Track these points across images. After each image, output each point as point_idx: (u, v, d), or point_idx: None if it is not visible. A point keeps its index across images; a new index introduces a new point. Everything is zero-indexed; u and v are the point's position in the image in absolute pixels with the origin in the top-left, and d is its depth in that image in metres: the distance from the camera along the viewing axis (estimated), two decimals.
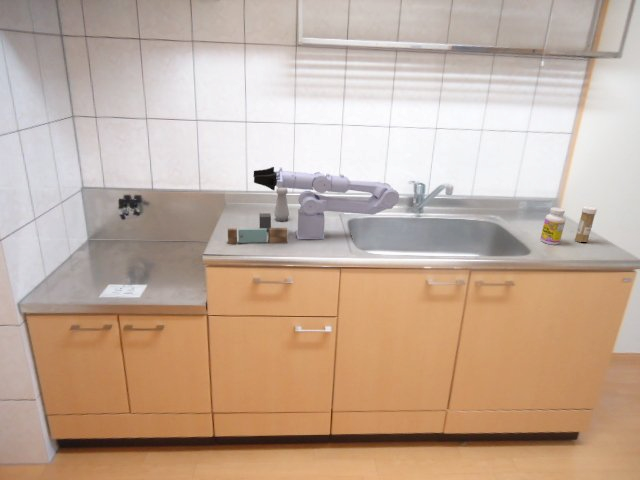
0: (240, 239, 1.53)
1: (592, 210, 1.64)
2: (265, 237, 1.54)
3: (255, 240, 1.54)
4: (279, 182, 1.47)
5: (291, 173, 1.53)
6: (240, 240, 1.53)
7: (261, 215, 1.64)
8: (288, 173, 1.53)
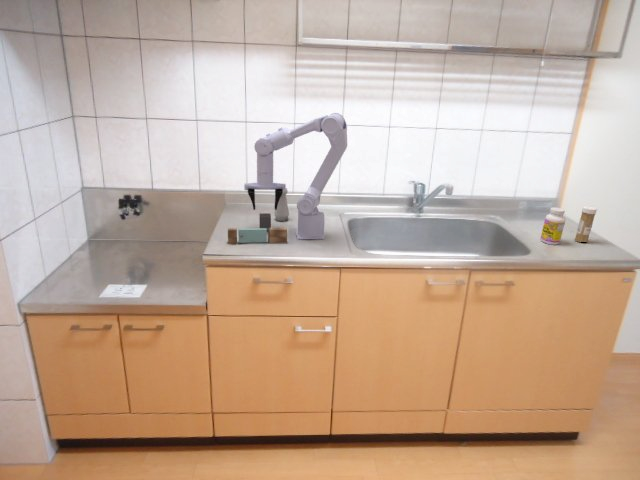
0: (240, 239, 1.53)
1: (592, 210, 1.64)
2: (265, 237, 1.54)
3: (255, 240, 1.54)
4: None
5: None
6: (240, 240, 1.53)
7: (261, 215, 1.64)
8: None
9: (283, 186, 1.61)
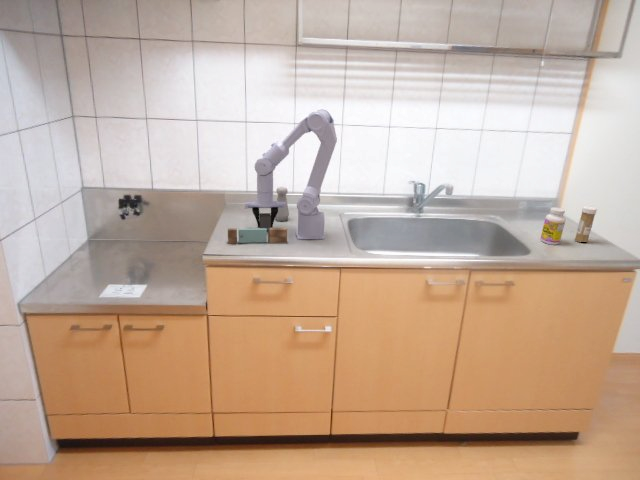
0: (240, 239, 1.53)
1: (592, 210, 1.64)
2: (265, 237, 1.54)
3: (255, 240, 1.54)
4: None
5: None
6: (240, 240, 1.53)
7: (261, 215, 1.64)
8: None
9: (283, 204, 1.63)
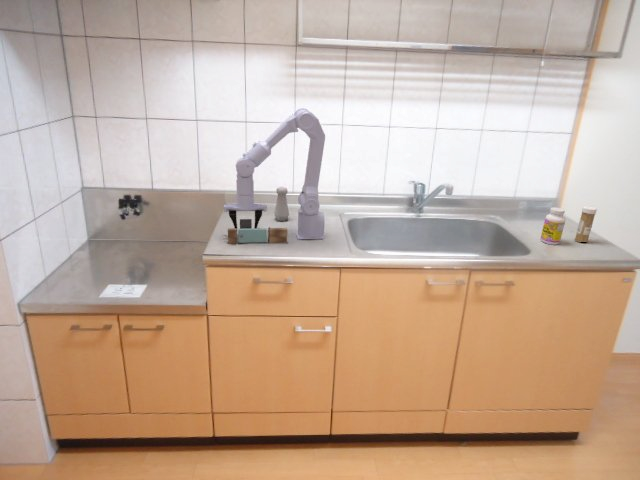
0: (240, 239, 1.53)
1: (592, 210, 1.64)
2: (265, 237, 1.54)
3: (255, 240, 1.54)
4: None
5: None
6: (240, 240, 1.53)
7: (241, 221, 1.57)
8: None
9: (264, 207, 1.56)
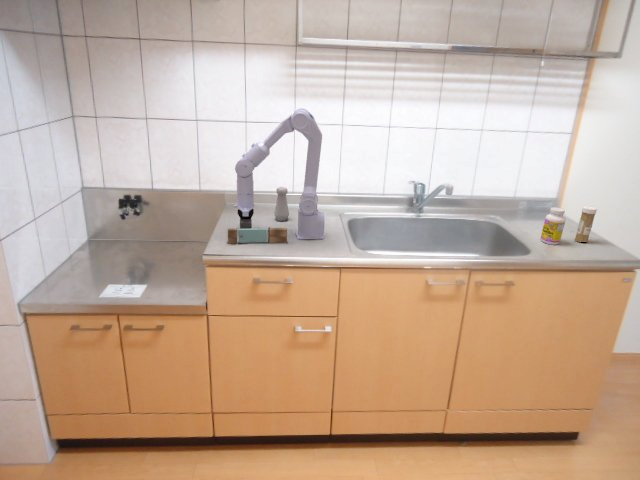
0: (240, 239, 1.53)
1: (592, 210, 1.64)
2: (265, 237, 1.54)
3: (255, 240, 1.54)
4: (243, 214, 1.53)
5: (238, 196, 1.57)
6: (240, 240, 1.53)
7: (241, 221, 1.57)
8: (238, 199, 1.57)
9: None
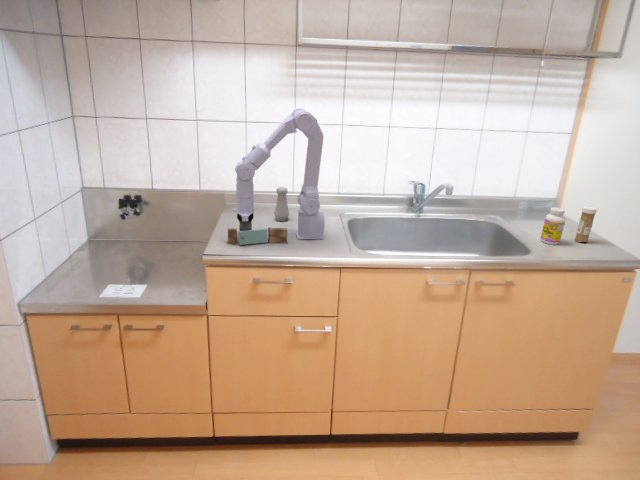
0: (241, 241, 1.51)
1: (592, 210, 1.64)
2: (265, 237, 1.54)
3: (256, 241, 1.53)
4: (243, 218, 1.48)
5: (237, 200, 1.52)
6: (241, 242, 1.52)
7: (241, 224, 1.52)
8: (237, 203, 1.52)
9: None
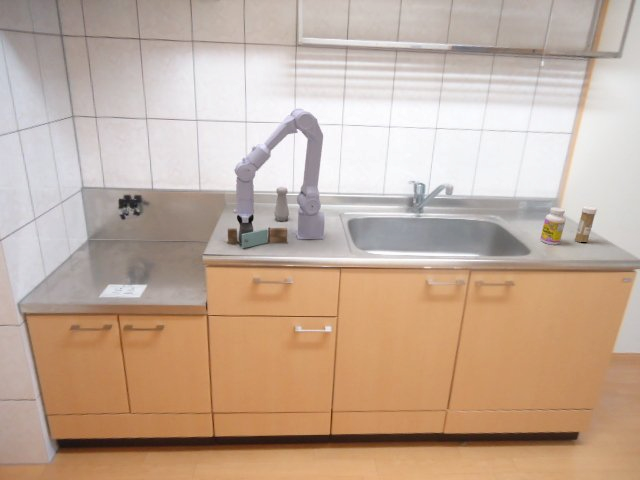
0: (245, 244, 1.49)
1: (592, 210, 1.64)
2: (266, 237, 1.54)
3: (258, 242, 1.52)
4: (243, 220, 1.47)
5: (237, 202, 1.51)
6: (245, 245, 1.49)
7: (242, 226, 1.51)
8: (237, 205, 1.51)
9: None
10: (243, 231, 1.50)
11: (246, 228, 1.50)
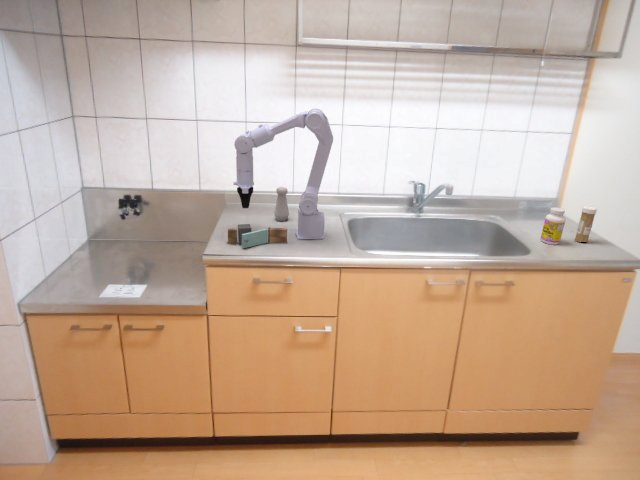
0: (245, 244, 1.49)
1: (592, 210, 1.64)
2: (266, 237, 1.54)
3: (258, 242, 1.52)
4: (243, 191, 1.51)
5: (237, 174, 1.54)
6: (245, 245, 1.49)
7: (240, 226, 1.52)
8: (237, 177, 1.54)
9: None
10: (241, 230, 1.51)
11: (244, 227, 1.51)
